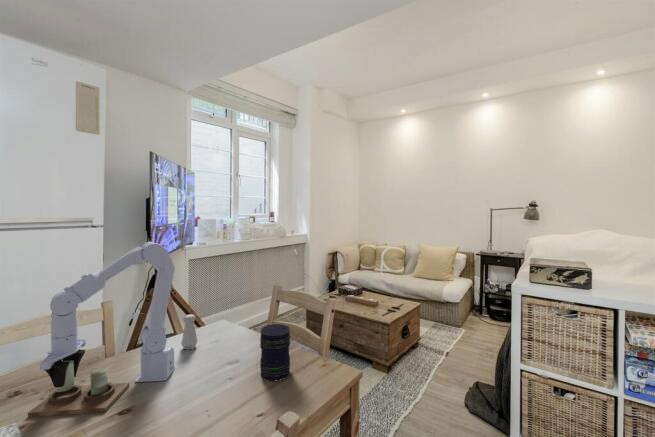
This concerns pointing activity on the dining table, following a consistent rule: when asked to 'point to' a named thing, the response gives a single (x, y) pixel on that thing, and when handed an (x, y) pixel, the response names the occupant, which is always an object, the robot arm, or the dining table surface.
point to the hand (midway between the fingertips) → (65, 381)
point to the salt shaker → (189, 333)
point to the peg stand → (82, 397)
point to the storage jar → (275, 352)
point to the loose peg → (68, 378)
